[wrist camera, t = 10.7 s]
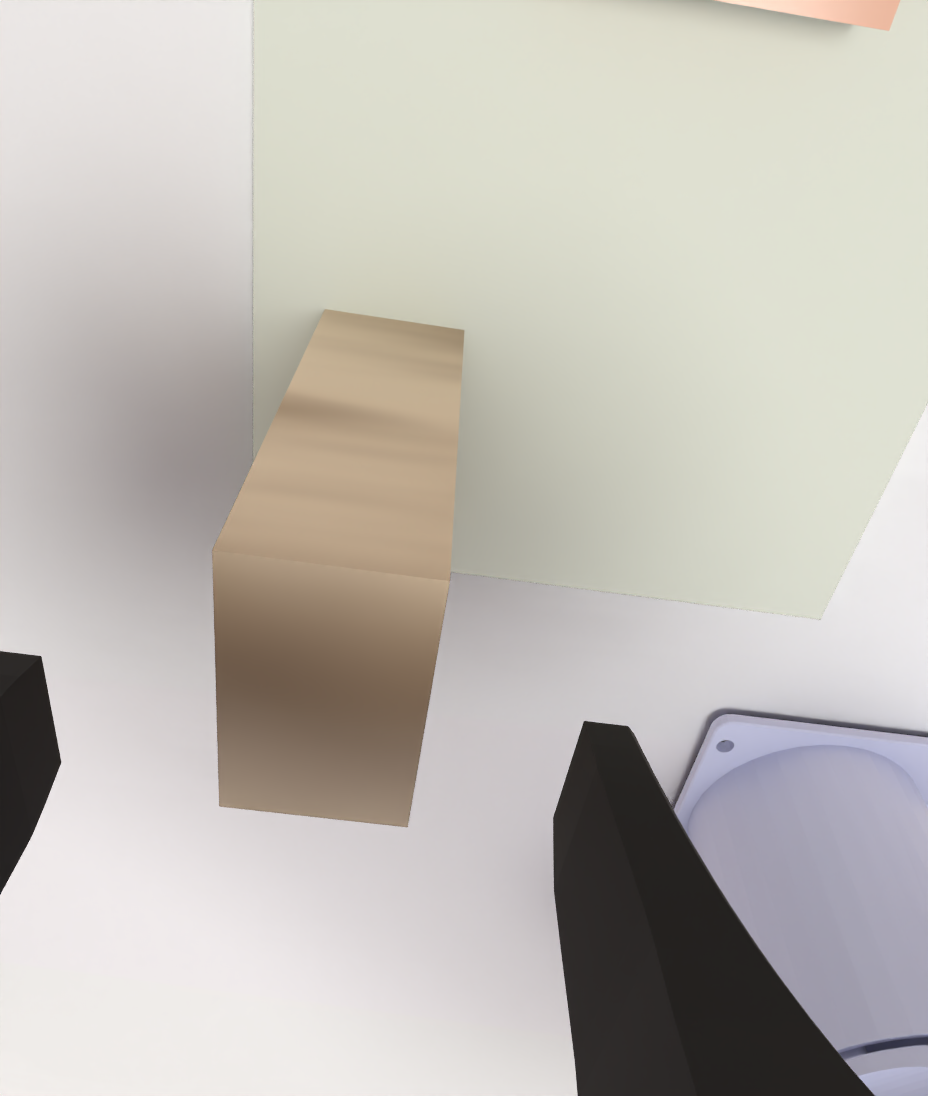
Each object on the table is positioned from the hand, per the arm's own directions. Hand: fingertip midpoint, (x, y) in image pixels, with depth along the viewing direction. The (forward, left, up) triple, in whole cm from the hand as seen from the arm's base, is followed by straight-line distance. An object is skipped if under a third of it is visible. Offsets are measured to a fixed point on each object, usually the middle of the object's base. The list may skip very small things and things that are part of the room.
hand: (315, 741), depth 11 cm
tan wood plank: (0, 0, -10) cm, 10 cm away
